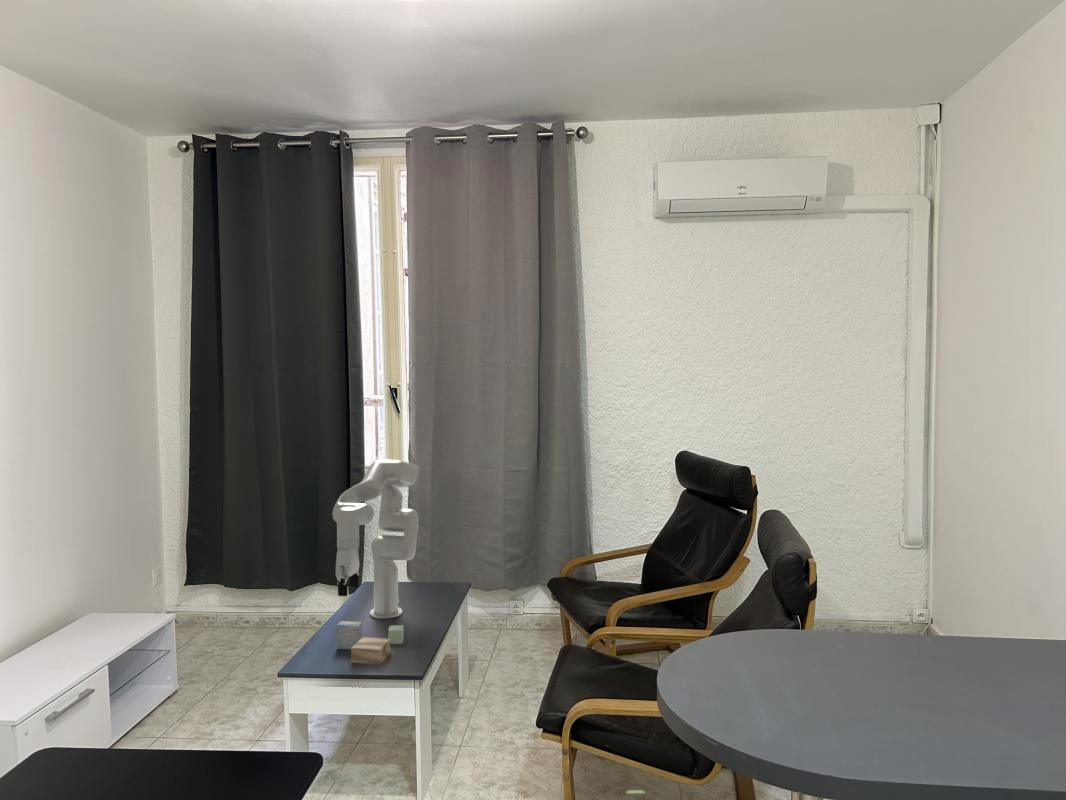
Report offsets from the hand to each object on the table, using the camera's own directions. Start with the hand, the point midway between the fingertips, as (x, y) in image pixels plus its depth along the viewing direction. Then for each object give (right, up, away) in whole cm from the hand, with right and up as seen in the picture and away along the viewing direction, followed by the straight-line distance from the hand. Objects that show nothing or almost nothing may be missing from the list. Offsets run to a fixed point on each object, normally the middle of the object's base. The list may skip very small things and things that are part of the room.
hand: (348, 591), depth 261 cm
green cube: (+15, -20, +8) cm, 26 cm away
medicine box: (0, -20, +2) cm, 21 cm away
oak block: (+10, -21, -8) cm, 24 cm away
